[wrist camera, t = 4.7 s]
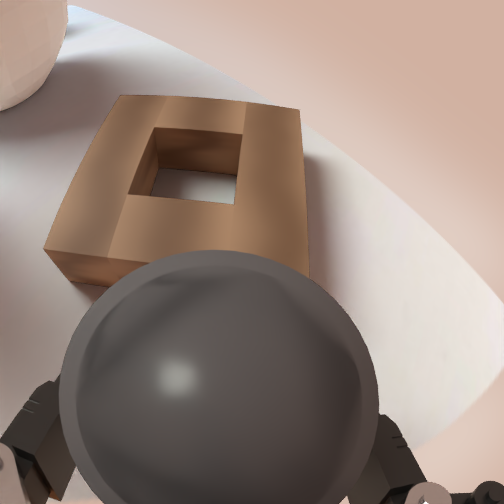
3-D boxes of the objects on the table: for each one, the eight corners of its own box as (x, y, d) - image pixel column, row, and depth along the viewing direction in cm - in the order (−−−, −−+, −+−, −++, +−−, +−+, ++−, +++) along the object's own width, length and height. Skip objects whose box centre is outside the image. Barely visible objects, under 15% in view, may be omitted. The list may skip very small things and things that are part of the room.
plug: (163, 450, 14) (50, 515, 3) (171, 363, 17) (95, 235, 5) (257, 459, 14) (370, 540, 3) (262, 372, 17) (369, 265, 6)
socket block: (68, 280, 18) (43, 248, 15) (126, 132, 25) (120, 95, 22) (290, 308, 19) (309, 280, 16) (289, 147, 26) (299, 109, 23)
